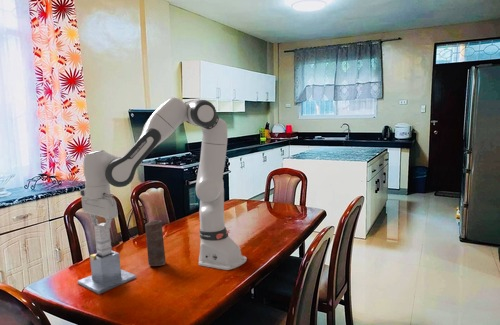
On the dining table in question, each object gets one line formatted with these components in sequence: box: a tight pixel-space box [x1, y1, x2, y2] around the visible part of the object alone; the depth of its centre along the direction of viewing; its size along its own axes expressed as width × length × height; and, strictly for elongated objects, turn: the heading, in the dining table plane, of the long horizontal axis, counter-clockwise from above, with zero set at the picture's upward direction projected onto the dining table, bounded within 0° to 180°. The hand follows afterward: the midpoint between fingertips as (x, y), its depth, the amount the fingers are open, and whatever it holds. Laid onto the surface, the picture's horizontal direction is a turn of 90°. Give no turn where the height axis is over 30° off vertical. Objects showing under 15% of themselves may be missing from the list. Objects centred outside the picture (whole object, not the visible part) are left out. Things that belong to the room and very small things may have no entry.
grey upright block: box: [144, 219, 167, 267], centre depth 154 cm, size 8×7×20 cm
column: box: [93, 222, 113, 258], centre depth 140 cm, size 4×4×22 cm
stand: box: [77, 249, 137, 295], centre depth 141 cm, size 16×16×12 cm
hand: (101, 226), depth 139 cm, fingers open, 8 cm apart
